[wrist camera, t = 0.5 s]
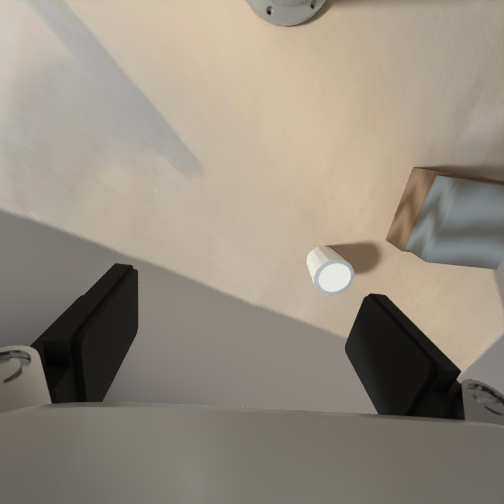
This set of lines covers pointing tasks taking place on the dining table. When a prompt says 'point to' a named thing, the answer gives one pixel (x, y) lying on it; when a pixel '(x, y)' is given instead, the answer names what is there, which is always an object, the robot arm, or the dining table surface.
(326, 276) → the white grey-rimmed cylinder
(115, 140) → the dining table surface
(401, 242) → the grey and wood block
